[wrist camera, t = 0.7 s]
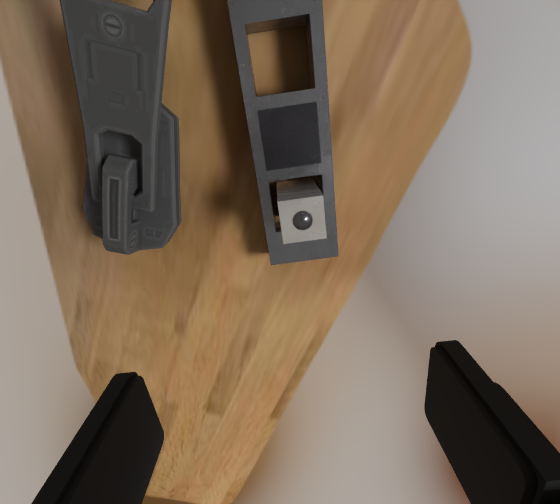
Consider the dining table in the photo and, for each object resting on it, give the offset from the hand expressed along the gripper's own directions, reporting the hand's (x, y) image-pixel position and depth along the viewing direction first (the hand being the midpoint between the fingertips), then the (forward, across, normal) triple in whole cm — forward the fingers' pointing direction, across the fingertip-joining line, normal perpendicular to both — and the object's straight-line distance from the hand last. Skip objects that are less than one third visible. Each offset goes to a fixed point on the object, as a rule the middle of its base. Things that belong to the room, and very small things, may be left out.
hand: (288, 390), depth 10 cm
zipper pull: (+24, +12, -10) cm, 28 cm away
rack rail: (+24, -2, -7) cm, 25 cm away
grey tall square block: (+24, -2, -1) cm, 24 cm away
